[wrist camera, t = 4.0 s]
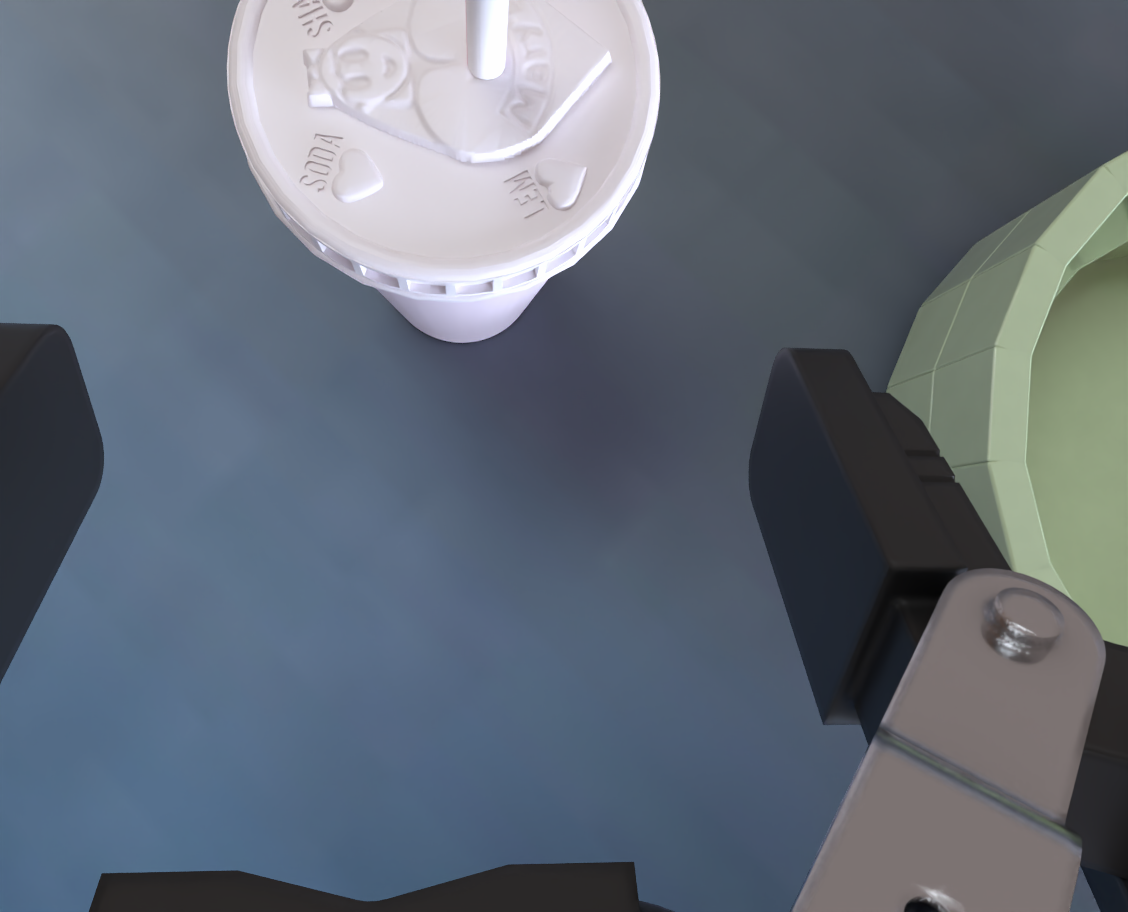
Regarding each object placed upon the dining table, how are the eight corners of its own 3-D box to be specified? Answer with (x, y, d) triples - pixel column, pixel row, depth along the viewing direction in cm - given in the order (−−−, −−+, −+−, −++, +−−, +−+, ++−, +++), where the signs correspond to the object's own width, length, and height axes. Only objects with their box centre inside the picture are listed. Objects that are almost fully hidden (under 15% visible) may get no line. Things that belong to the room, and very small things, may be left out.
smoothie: (603, 383, 23) (793, 129, 9) (343, 410, 22) (116, 182, 8) (572, 137, 23) (706, -458, 10) (317, 156, 23) (66, -451, 9)
